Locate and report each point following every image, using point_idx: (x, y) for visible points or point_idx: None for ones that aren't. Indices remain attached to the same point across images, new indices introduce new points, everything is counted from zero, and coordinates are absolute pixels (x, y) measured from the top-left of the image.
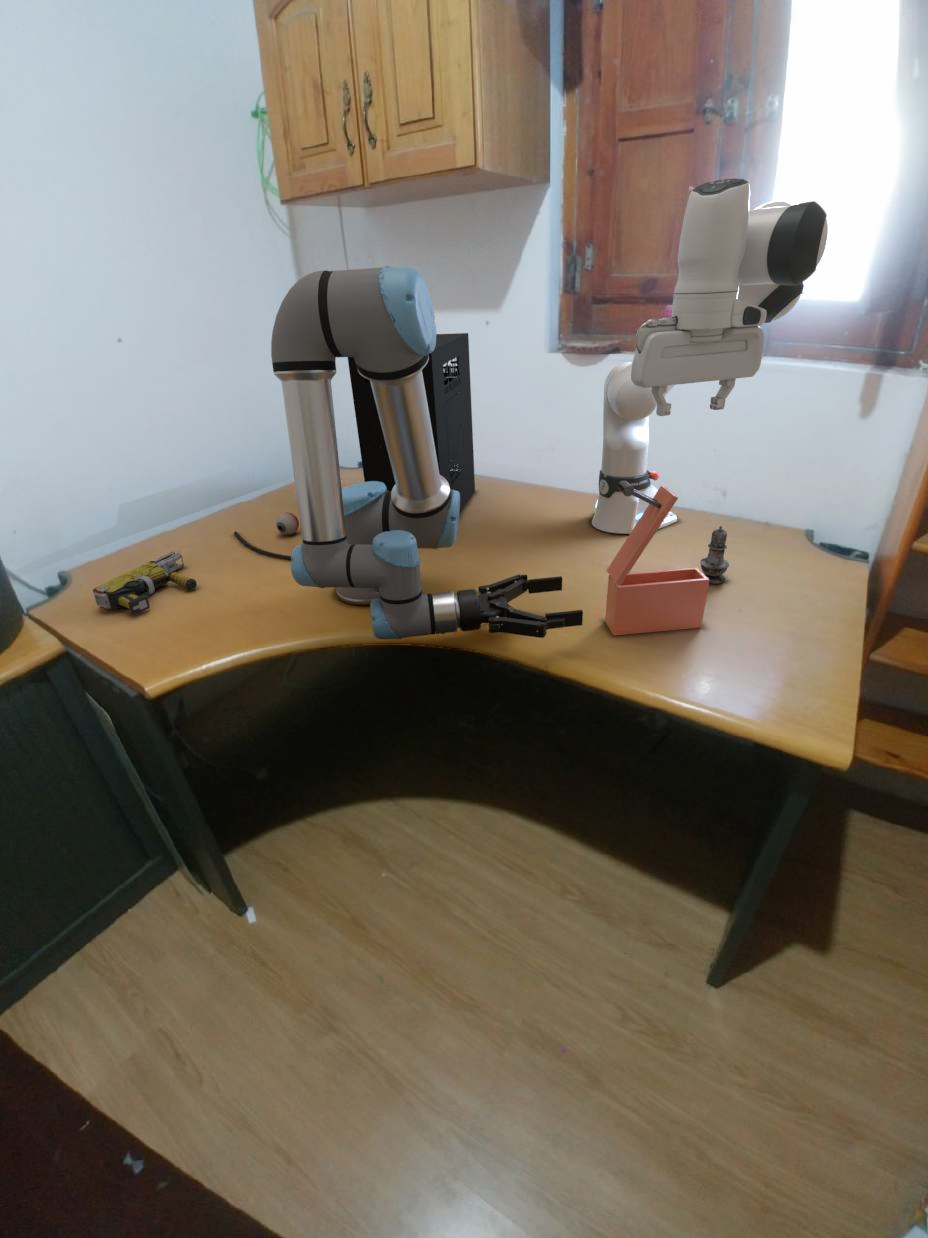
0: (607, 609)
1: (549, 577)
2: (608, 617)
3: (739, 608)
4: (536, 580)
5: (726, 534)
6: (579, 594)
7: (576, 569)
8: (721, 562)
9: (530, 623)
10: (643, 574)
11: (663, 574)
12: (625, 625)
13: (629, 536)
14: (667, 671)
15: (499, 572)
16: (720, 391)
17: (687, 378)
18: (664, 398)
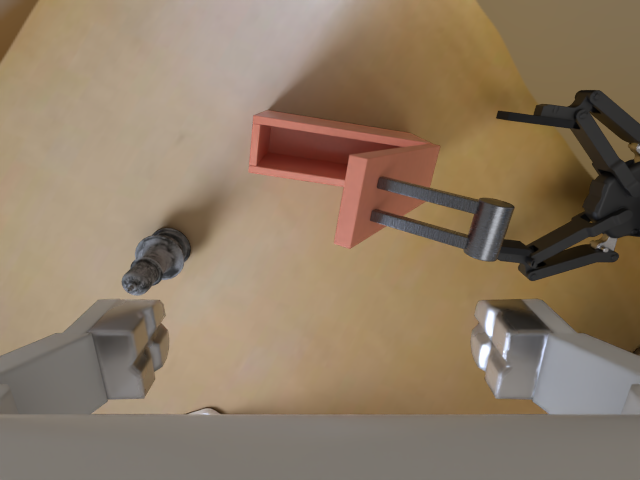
0: None
1: None
2: None
3: (176, 145)
4: (519, 248)
5: (126, 273)
6: (394, 266)
7: (359, 339)
8: (152, 247)
9: (613, 105)
10: None
11: (317, 174)
12: (395, 131)
13: (403, 211)
14: (387, 4)
15: (473, 365)
16: (63, 410)
17: (527, 443)
18: (607, 355)
